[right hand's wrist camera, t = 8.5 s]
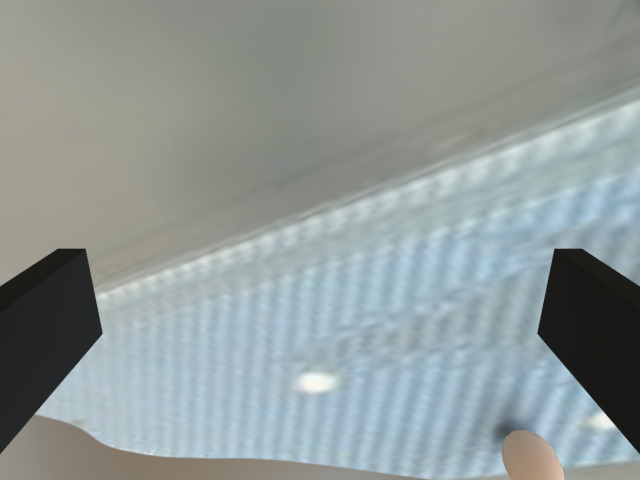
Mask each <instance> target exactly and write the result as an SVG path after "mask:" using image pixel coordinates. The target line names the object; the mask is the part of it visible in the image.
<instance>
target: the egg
mask: <svg viewBox="0 0 640 480" xmlns="http://www.w3.org/2000/svg"><path fill="white" fill-rule="evenodd" d="M502 457H503V463H504V466H505V468H506V470H507V472H508V474H509V476H510V478H511V479H512V480H564V474H563V470H562V466H561V464H560V461H559V459H558V457H557V455H556V454H555V452H554V450H553V449H552V448H551V446H550V445H549V444H548V443H547V442H546V441H545V440H544V439H543V438H542V437H540V436H539V435H537V434H535V433H533V432H531V431H528V430H520V429H519V430H514V431H512V432H510V433H509V434H508V435H507V436H506V438H505V440H504V442H503V446H502Z"/></svg>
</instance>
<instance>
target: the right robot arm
mask: <svg viewBox="0 0 640 480" xmlns="http://www.w3.org/2000/svg"><path fill="white" fill-rule="evenodd" d="M102 334H103V333H102V328H101V323H100V318H99V313H98V308H97V303H96V298H95V293H94V288H93V283H92V278H91V273H90V268H89V264H88V259H87V254H86V249H57V250H55V251H54V252H52V253H51V254H49V255H48V256H46V257H45V258H43V259H42V260H40V261H38V262H37V263H35V264H34V265H32V266H31V267H29V268H28V269H26V270H25V271H23V272H22V273H20V274H19V275H17V276H15V277H14V278H12V279H11V280H9V281H8V282H6V283H5V284H3V285H2V286H0V454H1V453H2V451H3V450H4V449H5V448H6V447H7V446H8V444H9V443H10V442H11V441H12V440H13V438H14V437H15V436H16V435H17V434H18V433H19V431H20V430H21V429H22V428H23V427H24V426H25V424H26V423H27V422H28V421H29V420H30V418H31V417H32V416H33V415H34V414H35V413H36V411H37V410H38V409H39V408H40V407H41V406H42V404H43V403H44V402H45V401H46V400H47V399H48V397H49V396H50V395H51V394H52V393H53V391H54V390H55V389H56V388H57V387H58V386H59V384H60V383H61V382H62V381H63V380H64V379H65V377H66V376H67V375H68V374H69V373H70V371H71V370H72V369H73V368H74V367H75V366H76V364H77V363H78V362H79V361H80V360H81V359H82V357H83V356H84V355H85V354H86V353H87V351H88V350H89V349H90V348H91V347H92V346H93V344H94V343H95V342H96V341H97V340H98V339H99V337H100V336H101V335H102ZM537 334H538V335H539V336H540V337H541V339H542V340H543V341H544V342H545V343H546V344H547V346H548V347H549V348H550V349H551V350H552V351H553V353H554V354H555V355H556V356H557V357H558V359H559V360H560V361H561V362H562V363H563V364H564V366H565V367H566V368H567V369H568V370H569V371H570V373H571V374H572V375H573V376H574V377H575V379H576V380H577V381H578V382H579V383H580V384H581V386H582V387H583V388H584V389H585V390H586V391H587V393H588V394H589V395H590V396H591V397H592V399H593V400H594V401H595V402H596V403H597V404H598V406H599V407H600V408H601V409H602V410H603V411H604V413H605V414H606V415H607V416H608V417H609V419H610V420H611V421H612V422H613V423H614V424H615V426H616V427H617V428H618V429H619V430H620V431H621V433H622V434H623V435H624V436H625V437H626V438H627V440H628V441H629V442H630V443H631V444H632V446H633V447H634V448H635V449H636V450H637V451H638V453H639V454H640V286H638V285H637V284H635V283H634V282H632V281H631V280H629V279H628V278H626V277H625V276H623V275H621V274H620V273H618V272H617V271H615V270H614V269H612V268H611V267H609V266H608V265H606V264H605V263H603V262H602V261H600V260H598V259H597V258H595V257H594V256H592V255H591V254H589V253H588V252H586V251H585V250H583V249H554V254H553V259H552V264H551V268H550V273H549V278H548V283H547V288H546V293H545V298H544V303H543V308H542V313H541V318H540V323H539V328H538V333H537Z"/></svg>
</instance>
